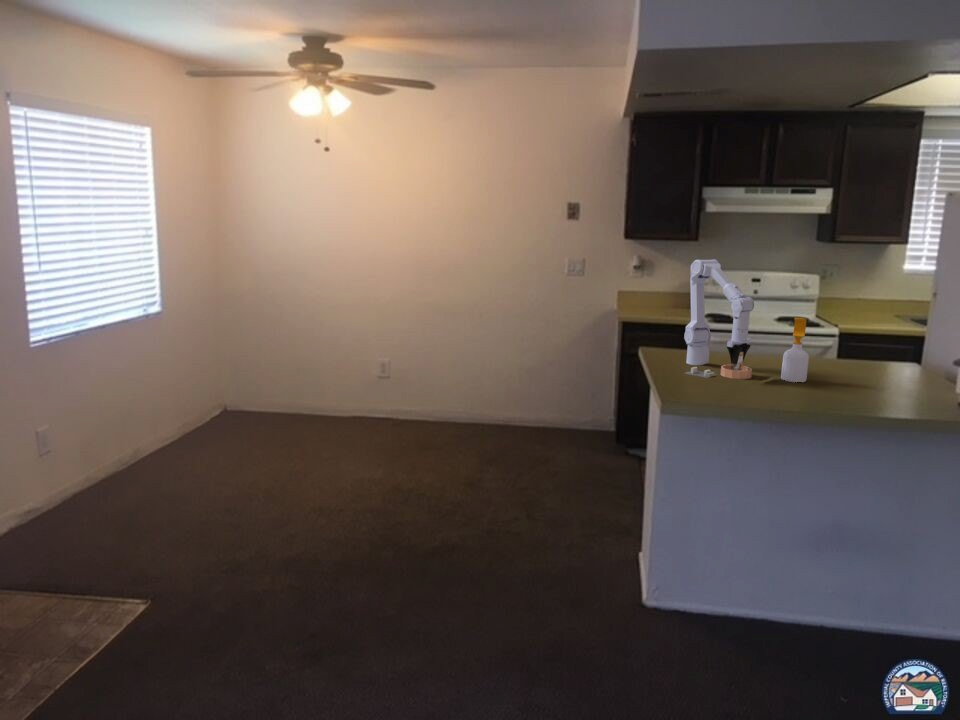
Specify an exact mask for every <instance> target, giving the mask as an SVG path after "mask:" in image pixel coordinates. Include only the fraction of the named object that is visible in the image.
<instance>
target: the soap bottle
mask: <svg viewBox="0 0 960 720" xmlns="http://www.w3.org/2000/svg"><path fill="white" fill-rule="evenodd" d="M793 320H794V324H793V325H794V326H793V333H792V337H793V338H794V339H795V341H792V347H791V348H789V349H787V350H784V353H783V355H782V365H781V373H780V374H781V375H780V379H781V380H782V381H784V380H785V381H784V382H788V383H795V382H796V383H797V382H802V383H805V382H806V381H807V377H808V367H809V360H810V356H809V353H808V352H807V351H806V350H804V349H803V342H802V341H801V340H802V339H803V338H805V335H806V328H807V318H803V317H794V319H793Z"/></svg>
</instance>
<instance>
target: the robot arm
mask: <svg viewBox="0 0 960 720" xmlns="http://www.w3.org/2000/svg"><path fill="white" fill-rule="evenodd" d="M721 268H722V264H721V263H720V262H719V261H718V260H717V259H712V258H711V259H695V260H693V262H692V263H691V264H690V279H689V281H690V322H689V323H688V324H687V325H686V326H685V332H684V337H683V339H684V341H685V343H686V344H685V345H687V348H686V349H687V351H686V364H688V365H692V366H703V365H706V364H709V360H710V347H709V346H708V343H709V342H710V341H711V339H712V332H711V331H710V325H709V323H707V322H706V320H705V319H706V317H705V316H706V315H705V313H706V312H705V283H706V282H707V281H708V280H709V279H710V278H713V280H714V281H715V282H716V283H717V284H718V285H719V286H720V287H721V288H722V294H723V295H724V296H725V298H726V299H727V300H728V301H729V302H730V307H731V310H732V317H733V320H732V329H731V339H729V340H728V341H727V342H726V349H727V351H728V353H729V357H730V365H731V364H737V363H738V358H739V354H740V352H741V351H743V362H742V364H743V363H744V360H745V358H746V355H747V353H748V351H749V349H750V348H751V344H750V343H751V342H752V338H751V337H748V335H749V327H750V326H749V325H750V316H751V312H752V311H753V310H754V308H755V301H754V300H753V297H751V296H747V295H746V294H745V293H744V292H743V291H742V290H741V289H740V288H739V285H738V284H737V283H731V282H730V280H729V279H728V277H727V276H726V274H725V273H724V271H723V270H722V269H721Z"/></svg>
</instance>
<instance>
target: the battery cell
mask: <svg viewBox="0 0 960 720" xmlns="http://www.w3.org/2000/svg"><path fill="white" fill-rule="evenodd" d="M742 362H743V363H744V361H743V351H741V352H740V354H739V358H738V363H737V364H731V363H730V365H731V369H732V370H742V366H743V363H742Z"/></svg>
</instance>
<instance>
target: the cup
mask: <svg viewBox="0 0 960 720" xmlns="http://www.w3.org/2000/svg"><path fill="white" fill-rule="evenodd" d="M720 366H721V367H720V376H722V377H724V378H729V379H733V380H736V379H737V380H747V379H748V380H749V379H752V374H753V373H752V372H753V368H751V367H749V366H745V365H742V370H732V369H731V364H723V365H720Z"/></svg>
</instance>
